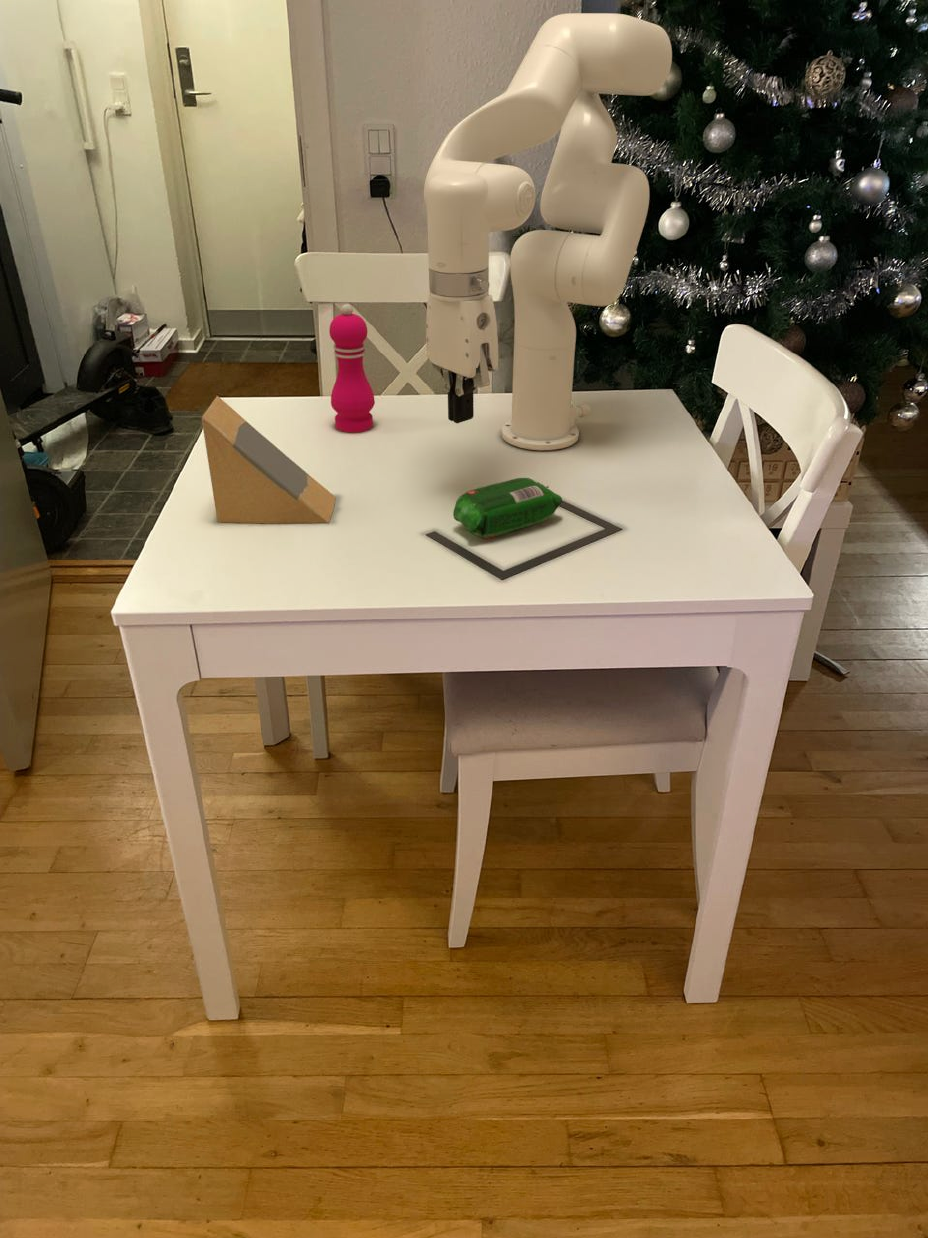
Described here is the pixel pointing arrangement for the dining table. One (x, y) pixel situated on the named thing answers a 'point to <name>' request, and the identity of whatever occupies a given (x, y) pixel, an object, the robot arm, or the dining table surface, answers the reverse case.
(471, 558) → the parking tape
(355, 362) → the pepper mill
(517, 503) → the snack package
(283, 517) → the sandwich container
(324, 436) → the dining table surface
